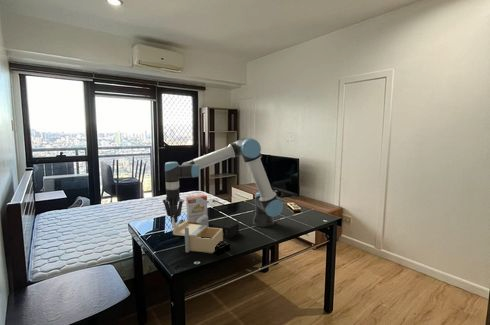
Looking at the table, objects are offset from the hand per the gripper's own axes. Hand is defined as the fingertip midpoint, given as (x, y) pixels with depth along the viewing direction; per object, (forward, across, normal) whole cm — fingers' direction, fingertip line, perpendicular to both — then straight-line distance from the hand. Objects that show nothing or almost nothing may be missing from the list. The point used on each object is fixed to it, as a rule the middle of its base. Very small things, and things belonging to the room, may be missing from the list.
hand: (174, 227), depth 151 cm
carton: (+10, +19, +6) cm, 22 cm away
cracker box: (+10, -2, +33) cm, 35 cm away
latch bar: (-2, +12, +12) cm, 17 cm away
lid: (+2, +10, +2) cm, 10 cm away
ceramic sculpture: (+10, -6, +18) cm, 22 cm away
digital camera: (+10, +28, +20) cm, 36 cm away
